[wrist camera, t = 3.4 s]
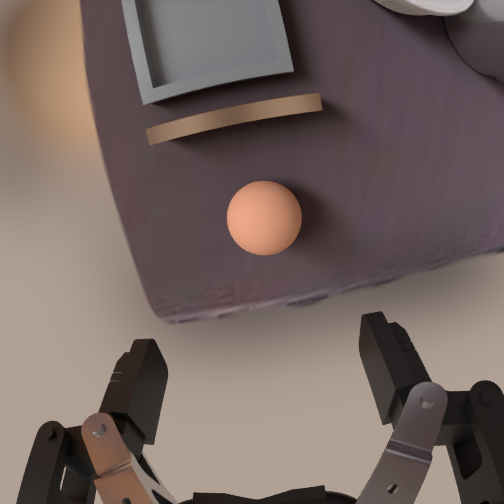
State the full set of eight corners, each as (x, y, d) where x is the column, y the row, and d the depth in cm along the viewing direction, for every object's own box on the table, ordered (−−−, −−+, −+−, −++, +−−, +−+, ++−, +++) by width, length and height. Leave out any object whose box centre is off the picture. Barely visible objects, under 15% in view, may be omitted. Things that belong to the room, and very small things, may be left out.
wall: (310, 93, 21) (319, 93, 18) (312, 108, 22) (322, 110, 19) (159, 124, 22) (145, 129, 19) (162, 138, 23) (149, 145, 20)
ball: (307, 190, 25) (322, 215, 20) (277, 244, 28) (283, 279, 23) (246, 161, 24) (245, 180, 19) (218, 220, 26) (212, 251, 22)
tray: (262, -44, 15) (263, -53, 14) (290, 73, 21) (293, 71, 19) (127, -10, 16) (118, -17, 15) (151, 103, 22) (143, 105, 20)
